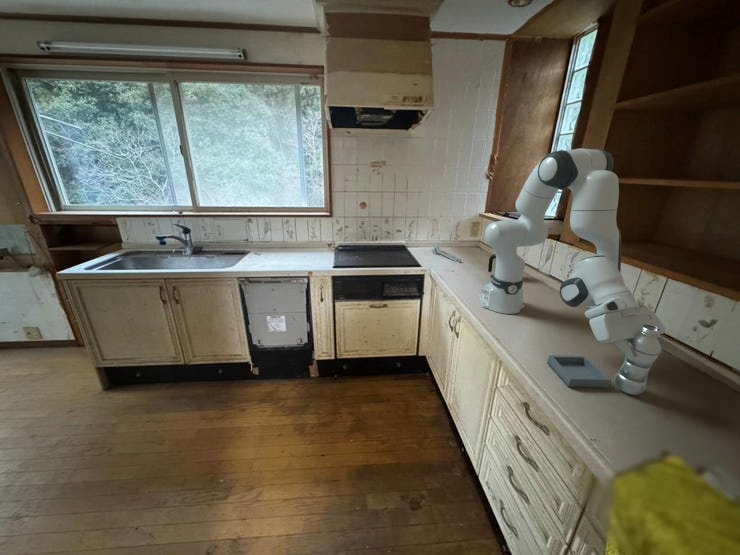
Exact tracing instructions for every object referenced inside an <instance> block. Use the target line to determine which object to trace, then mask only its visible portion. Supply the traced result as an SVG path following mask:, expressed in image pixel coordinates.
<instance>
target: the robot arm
mask: <svg viewBox="0 0 740 555" xmlns="http://www.w3.org/2000/svg"><path fill="white" fill-rule="evenodd" d="M614 161H615V160H614V158H613V156H612V154H611V153H610V152H608V151H606V150H604V149H599V148H594V149H593V148H591V149H590V148H576V149H566V150H564V149H560V150H556V151H555V150H554V151H552V152H550V153H547V154H546V155H544V156H543V158H542V159H541V160H540V161H539V162H538V163H537V164H536V165H535V167H534V168H533V170H532V171H531V172H530V174H529V176H528V177H527V179H526V181H525V183H524V185H523V187H522V189H521V190H520V193H519V195H518V196H517V199H516V200H515V210H516V211H517V213H519V215H520V216H519V218H518V219H506V220H505V219H504V220H498V221H494V222H493V221H492V222H490V223H489V224H488V225H487V226H486V229H485V231H484V239H485V241H486V243H487V244H488V245H489V246H490V247H491V248H492V249H493V252H494V254H495V255H496V258H495V259H496V260H495V270H494V274H493V278H491V281H490V282H488V283H487V284H484V287H483V288H481V292H478V293H477V297H478V299H479V303H480V306H481V307H482V308H485V309H487V310H491V311H493V312H496V313H500V314H506V315H513V314H518V313H520V312H521V310H523V309H525V304H523V301H524V300H523V299H524V290H523V289H522V288H523V284H524V279H523V278H524V272H525V268H526V262H525V260H524V259H523V258H522V257H521V256H519V255H517V254H518V252H517V249H518V248H520V247H522V248H523V247H532V246H537V245H541V244H543V243H544V242H545V241H547V240H546V239H547V237H548V235H549V228H548V225H547V224H546V223H545V217H546V213H547V211H548V210H549V207H550V206H551V203H552V202H553V200H554V199H555V197H556V195H557V193H558V191H559V190H560V191H563V190H566V189H568V190H570V191H571V193H572V194H571V195H572V202H571V208H570V209H571V210H570V215H569V226H570V229H571V231H572V232H573V233H574V234H575V235H576V236H577V237H579V238H581V239H583V240H585V241H588V242H590V243H591V244H593V245H594V246H595V248H596V255H593V256H589V257H585V258H582V259H580V260H579V261H577V263H576V268H575V270H574V271H573V273H572V274H571V275H570V276H569V277H568V278H567V279H566V280H564V281H562V283H561V285H560V287H559V296H560V298H561V300H562V301H563V303H564V304H565V305H567V306H568V307H571V308H584V307H591V308H589V309H588V310H585V312H584V316H585V317H586V318H587V319H589V321H588V322H589V325H590V328H591V331H592V332H593V335H594V337H595V339H596V340H597V341H598V342H599V343H600V344H602V345H603V344H604V345H605V344H610V343H614V344H615V346H616V347H617V348H618V349H619V350H621V352H623V354H624V356H626V357H627V358H633V357H637V354H636V353H635V351H634V350H631V349H630V348H629V347H628V341H629V340H630V339H632V338H635V336H636V335H637V334H639V333H640V332H639V330H640V329H641V326H642V325H643V324H647V325H652V326H655V327H657V328H659V329H660V330H661V331H660V334H659V335H661V334H665V333H666V327H665V325H664V324H663V322H662V321H661V319H660V318H659V316H658V315H657V314H656V313H655V312H654V310H652V308H651V309H650V307H649V306H647V305H645V304H644V303H638V302H637V300H636V298H635V296H634V294H633V293H632V291H631V289H630V288H628V286H626V284H625V281H624V277H623V275H622V271H621V270H622V269H621V268H622V267H621V266H622V234H621V231H620V229H619V227H618V225H617V213H618V212H617V211H618V206H619V205H618V204H619V197H620V196H619V195H620V187H619V186H620V185H619V184H620V183H619V177H618V176H617V173H615V172H613V168H614V164H615V163H614ZM522 308H523V309H522Z"/></svg>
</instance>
